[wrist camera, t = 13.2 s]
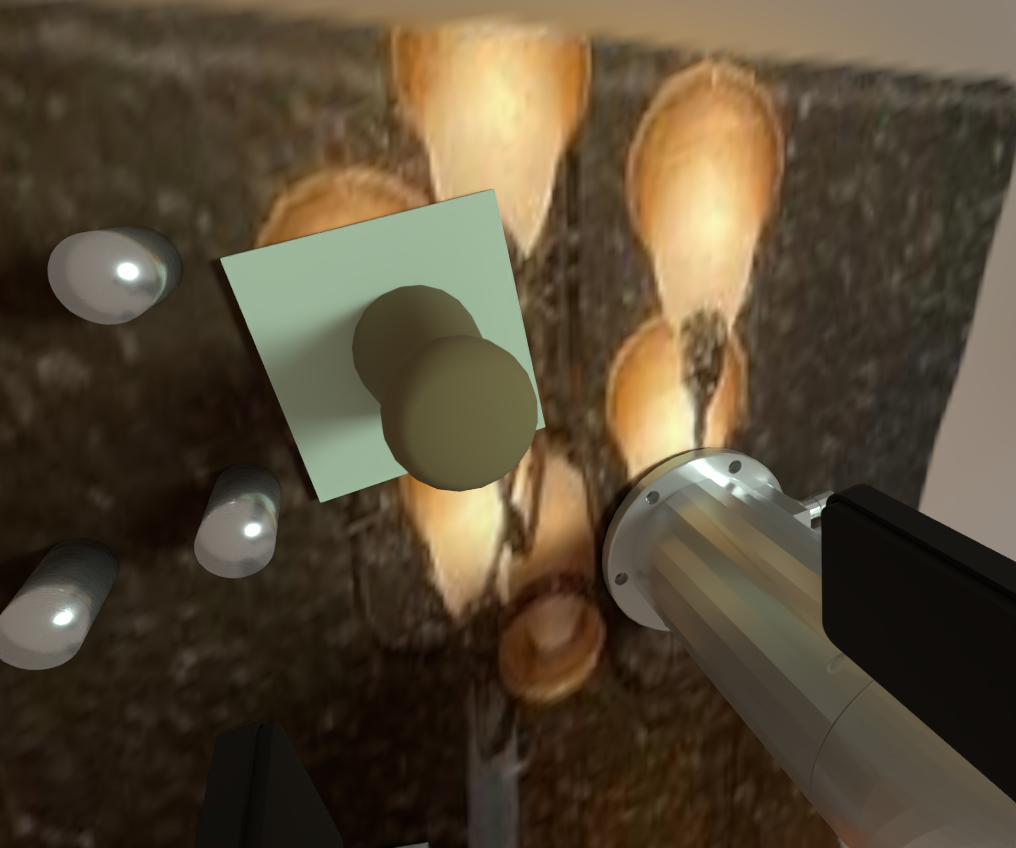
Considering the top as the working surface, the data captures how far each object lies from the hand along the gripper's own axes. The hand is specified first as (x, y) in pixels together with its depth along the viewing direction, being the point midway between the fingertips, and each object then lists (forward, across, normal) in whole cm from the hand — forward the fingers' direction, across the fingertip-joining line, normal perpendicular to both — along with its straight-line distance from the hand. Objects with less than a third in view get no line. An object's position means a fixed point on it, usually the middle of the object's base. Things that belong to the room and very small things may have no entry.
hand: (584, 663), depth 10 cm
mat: (+21, 0, 0) cm, 21 cm away
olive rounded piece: (+21, 0, 0) cm, 21 cm away
